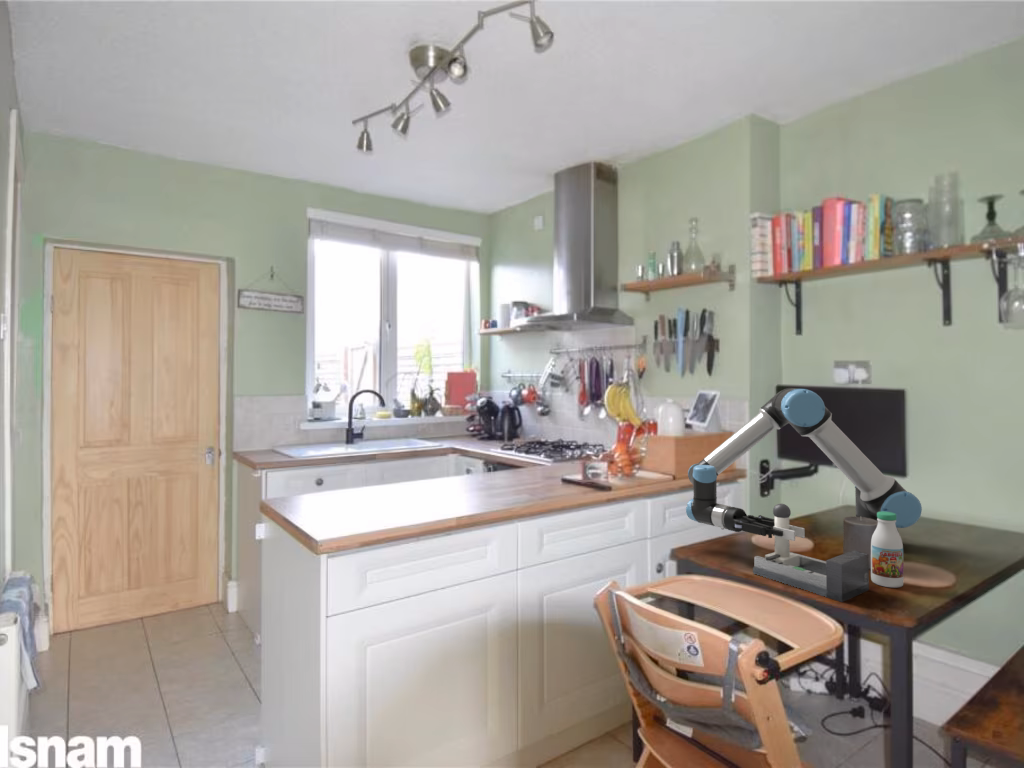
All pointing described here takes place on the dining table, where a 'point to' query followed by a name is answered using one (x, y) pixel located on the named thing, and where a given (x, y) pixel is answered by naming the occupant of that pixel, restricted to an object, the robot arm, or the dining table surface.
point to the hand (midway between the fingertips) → (799, 534)
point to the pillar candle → (858, 535)
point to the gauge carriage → (782, 544)
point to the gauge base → (821, 574)
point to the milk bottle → (886, 552)
